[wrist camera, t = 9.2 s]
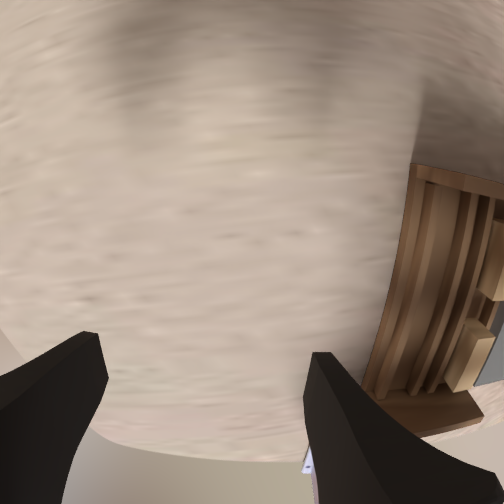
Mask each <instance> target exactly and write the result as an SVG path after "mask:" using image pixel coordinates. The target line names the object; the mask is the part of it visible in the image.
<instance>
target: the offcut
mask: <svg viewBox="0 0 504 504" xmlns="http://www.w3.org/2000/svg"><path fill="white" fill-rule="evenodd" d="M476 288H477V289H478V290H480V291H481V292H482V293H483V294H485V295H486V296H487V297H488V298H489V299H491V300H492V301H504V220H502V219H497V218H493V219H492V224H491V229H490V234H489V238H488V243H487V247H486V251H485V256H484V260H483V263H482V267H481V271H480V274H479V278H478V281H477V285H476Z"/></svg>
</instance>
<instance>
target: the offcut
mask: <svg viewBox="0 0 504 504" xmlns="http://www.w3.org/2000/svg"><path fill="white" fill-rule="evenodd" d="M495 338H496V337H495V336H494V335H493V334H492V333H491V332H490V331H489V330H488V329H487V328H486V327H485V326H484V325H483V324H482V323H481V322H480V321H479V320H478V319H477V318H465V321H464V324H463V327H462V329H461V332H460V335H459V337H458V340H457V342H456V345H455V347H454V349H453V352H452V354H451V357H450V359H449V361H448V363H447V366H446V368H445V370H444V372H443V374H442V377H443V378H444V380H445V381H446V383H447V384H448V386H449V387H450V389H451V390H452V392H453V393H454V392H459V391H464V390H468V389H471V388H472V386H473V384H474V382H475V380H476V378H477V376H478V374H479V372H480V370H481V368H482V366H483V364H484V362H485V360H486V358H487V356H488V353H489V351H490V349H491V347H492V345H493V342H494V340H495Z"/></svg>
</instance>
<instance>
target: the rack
mask: <svg viewBox="0 0 504 504" xmlns="http://www.w3.org/2000/svg"><path fill="white" fill-rule="evenodd" d="M493 218H497V219H502V220H504V184H501V183H498V182H494V181H490V180H487V179H483V178H479V177H475V176H471V175H467V174H463V173H458V172H454V171H449V170H444V169H439V168H434V167H429V166H423V165H418V164H412V163H410V172H409V181H408V189H407V197H406V204H405V211H404V217H403V223H402V229H401V235H400V240H399V246H398V251H397V256H396V261H395V266H394V270H393V275H392V279H391V284H390V288H389V292H388V296H387V301H386V304H385V308H384V312H383V316H382V320H381V323H380V327H379V331H378V334H377V338H376V341H375V344H374V348H373V351H372V354H371V357H370V360H369V364H368V367H367V370H366V373H365V376H364V379H363V382H362V384H361V388H362V389H363V390H364V391H365V392H366V393H367V394H368V395H369V396H370V397H371V398H372V399H373V400H374V401H375V402H376V403H377V404H378V405H379V406H380V407H381V408H382V409H383V410H384V411H385V412H386V413H387V414H389V415H390V416H391V417H392V418H393V419H394V420H396V421H397V422H398V423H400V424H401V425H402V426H403V427H405V428H406V429H407V430H409V431H410V432H411V433H413V434H414V435H416V436H417V437H419V438H422V437H427V436H431V435H436V434H440V433H444V432H448V431H452V430H456V429H459V428H463V427H467V426H470V425H473V424H477V423H480V422H481V420H482V419H483V417H484V414H483V413H482V411H481V410H480V408H479V407H478V405H477V404H476V402H475V401H474V399H473V398H472V396H471V395H470V393H469V392H468V391H467V390H464V391H459V392H454V393H453V392H452V390H451V389H450V387H449V386H448V384H447V383H446V381H445V380H444V378H443V377H442V374H443V372H444V370H445V368H446V366H447V363H448V361H449V359H450V357H451V354H452V352H453V349H454V347H455V345H456V342H457V340H458V337H459V335H460V332H461V329H462V327H463V324H464V321H465V318H477V319H478V320H479V321H480V322H481V323H482V324H483V325H484V326H485V327H486V328H487V329H488V330H490V327H491V325H492V322H493V320H494V317H495V314H496V311H497V309H498V306H499V303H500V301H492V300H491V299H489V298H488V297H487V296H486V295H485V294H483V293H482V292H481V291H480V290H478V289H477V288H476V285H477V281H478V278H479V274H480V271H481V267H482V263H483V260H484V256H485V251H486V247H487V243H488V238H489V234H490V229H491V224H492V219H493Z"/></svg>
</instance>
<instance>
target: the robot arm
mask: <svg viewBox="0 0 504 504" xmlns="http://www.w3.org/2000/svg"><path fill="white" fill-rule="evenodd" d="M108 379H109V377H108V373H107V369H106V365H105V361H104V357H103V353H102V349H101V345H100V340H99V336H98V333H92V332H86V331H82V332H80V333H78V334H76V335H75V336H73V337H71V338H69V339H67V340H66V341H64V342H62V343H61V344H59V345H57V346H56V347H54V348H52V349H50V350H49V351H47V352H45V353H44V354H42V355H40V356H39V357H37V358H35V359H33V360H31V361H29V362H28V363H26V364H24V365H22V366H20V367H18V368H16V369H14V370H13V371H10V372H8V373H6V374H4V375H1V376H0V504H61V503H62V497H63V493H64V489H65V485H66V481H67V477H68V474H69V470H70V467H71V464H72V461H73V458H74V455H75V453H76V450H77V447H78V445H79V443H80V442H81V439H82V437H83V436H84V433H85V432H86V429H87V428H88V426H89V424H90V422H91V420H92V418H93V416H94V414H95V412H96V410H97V408H98V406H99V404H100V402H101V399H102V397H103V394H104V391H105V388H106V385H107V382H108ZM303 402H304V416H305V425H306V430H307V435H308V440H309V444H310V446H309V449H308V452H307V455H306V458H305V461H304V463H303V466H302V473H311V477H312V484H313V493H314V500H315V504H503V502H504V490H503V488H502V486H501V484H500V482H499V480H498V478H497V476H496V474H495V473H493V472H490V471H487V470H484V469H482V468H479V467H476V466H473V465H470V464H467V463H465V462H463V461H460V460H458V459H456V458H454V457H452V456H450V455H448V454H446V453H444V452H442V451H440V450H438V449H436V448H435V447H433V446H431V445H430V444H428V443H427V442H425V441H423V440H422V439H420V438H419V437H417V436H416V435H414V434H413V433H411V432H410V431H409V430H407V429H406V428H405V427H403V426H402V425H401V424H400V423H398V422H397V421H396V420H394V419H393V418H392V417H391V416H390V415H389V414H387V413H386V412H385V411H384V410H383V409H382V408H381V407H380V406H379V405H378V404H377V403H376V402H375V401H374V400H373V399H372V398H371V397H370V396H369V395H368V394H367V393H366V392H365V391H364V390H363V389H362V388H361V387H360V386H359V385H358V383H357V382H356V381H355V380H354V379H353V378H352V377H351V375H350V374H349V373H348V372H347V371H346V370H345V368H344V367H343V366H342V365H341V364H340V362H339V361H338V360H337V359H336V358H335V356H334V355H333V354H332V353H331V352H313V353H312V358H311V363H310V367H309V372H308V377H307V381H306V386H305V391H304V395H303Z"/></svg>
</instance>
